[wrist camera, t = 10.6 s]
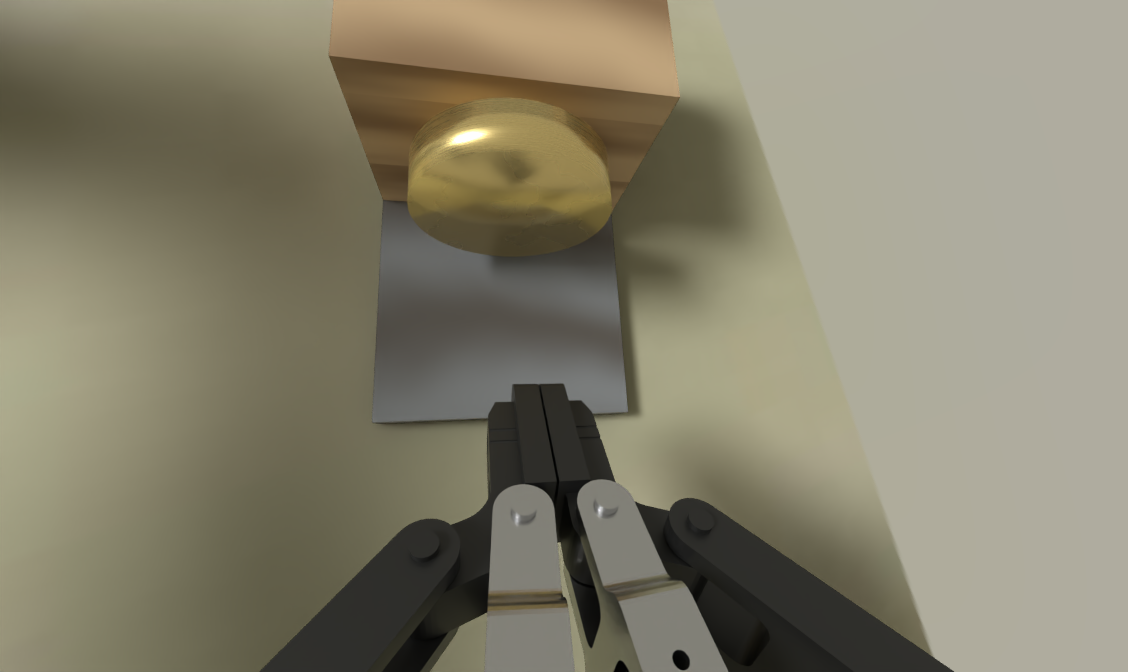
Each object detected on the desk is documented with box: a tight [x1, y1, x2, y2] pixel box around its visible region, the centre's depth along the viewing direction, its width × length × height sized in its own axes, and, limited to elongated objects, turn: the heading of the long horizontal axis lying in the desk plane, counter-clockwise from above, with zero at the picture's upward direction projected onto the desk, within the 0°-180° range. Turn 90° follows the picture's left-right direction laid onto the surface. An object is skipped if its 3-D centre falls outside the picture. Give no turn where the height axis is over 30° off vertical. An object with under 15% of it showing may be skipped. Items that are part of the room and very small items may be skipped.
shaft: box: [407, 98, 612, 257], centre depth 19 cm, size 16×8×8 cm, turn 3°
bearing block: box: [329, 0, 680, 423], centre depth 19 cm, size 21×12×10 cm, turn 3°
